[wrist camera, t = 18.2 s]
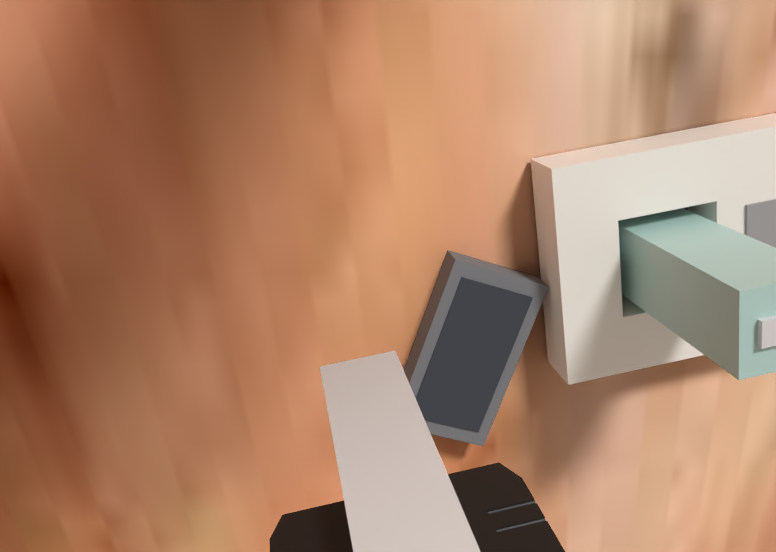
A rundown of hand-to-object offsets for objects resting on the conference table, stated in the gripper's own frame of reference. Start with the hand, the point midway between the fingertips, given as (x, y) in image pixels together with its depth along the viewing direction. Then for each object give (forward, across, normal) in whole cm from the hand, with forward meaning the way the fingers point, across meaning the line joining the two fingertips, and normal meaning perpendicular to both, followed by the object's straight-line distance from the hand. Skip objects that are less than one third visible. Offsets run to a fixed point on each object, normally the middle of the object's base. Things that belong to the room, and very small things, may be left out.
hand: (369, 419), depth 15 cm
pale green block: (+24, +18, -7) cm, 31 cm away
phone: (+25, +7, -11) cm, 28 cm away
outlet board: (+24, +20, -7) cm, 32 cm away
